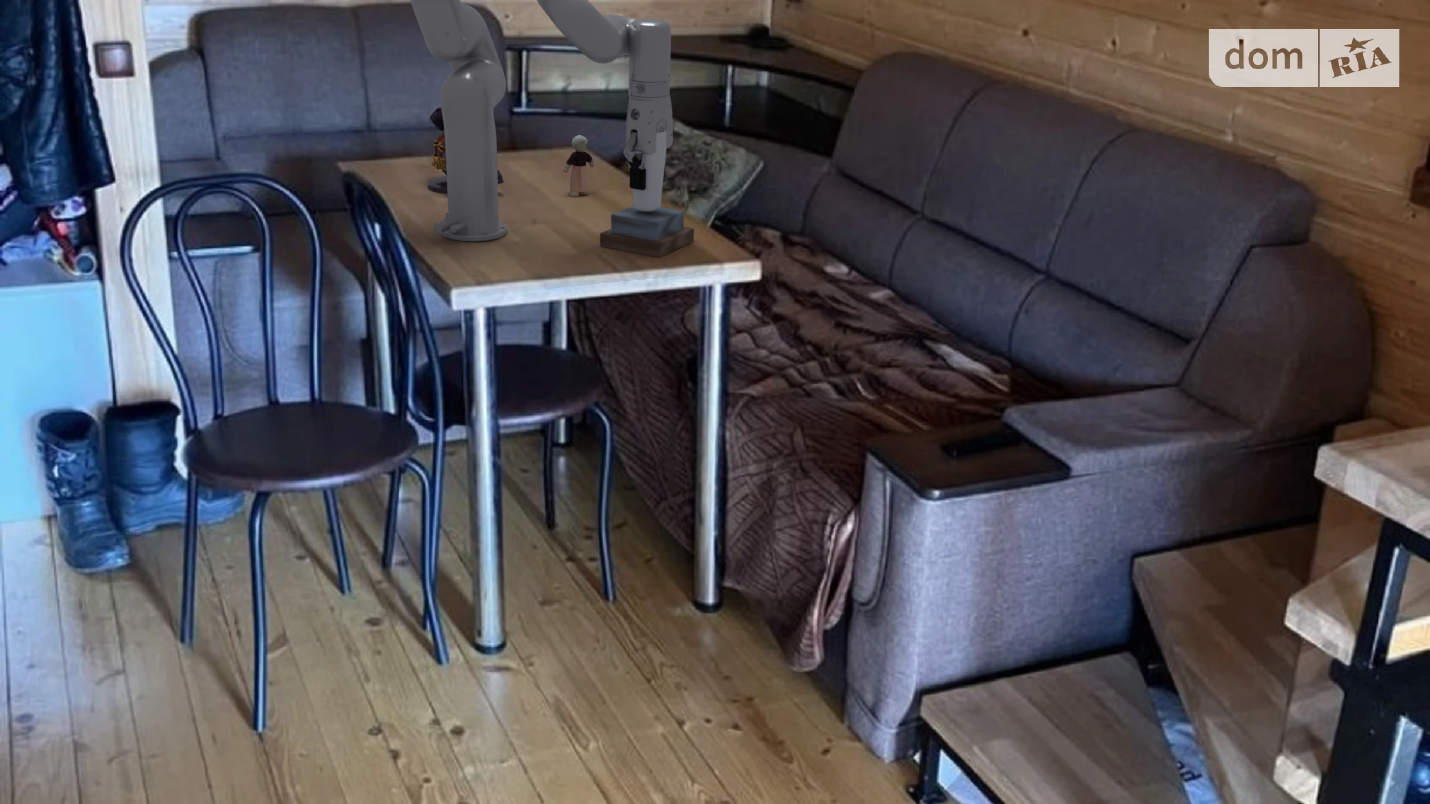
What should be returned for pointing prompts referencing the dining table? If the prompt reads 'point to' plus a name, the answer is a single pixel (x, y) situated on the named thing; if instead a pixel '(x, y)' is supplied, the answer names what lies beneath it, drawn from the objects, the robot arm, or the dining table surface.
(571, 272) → the dining table surface
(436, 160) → the figurine
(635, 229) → the stone block on base
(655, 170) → the drinking glass
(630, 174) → the robot arm
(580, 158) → the grandmother figurine
